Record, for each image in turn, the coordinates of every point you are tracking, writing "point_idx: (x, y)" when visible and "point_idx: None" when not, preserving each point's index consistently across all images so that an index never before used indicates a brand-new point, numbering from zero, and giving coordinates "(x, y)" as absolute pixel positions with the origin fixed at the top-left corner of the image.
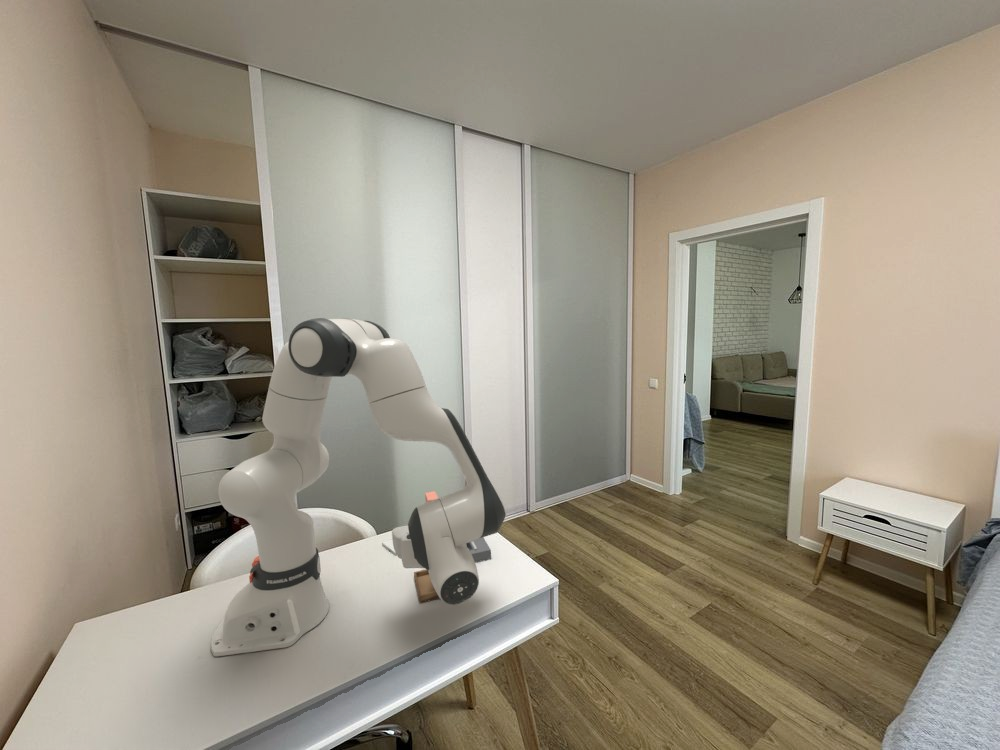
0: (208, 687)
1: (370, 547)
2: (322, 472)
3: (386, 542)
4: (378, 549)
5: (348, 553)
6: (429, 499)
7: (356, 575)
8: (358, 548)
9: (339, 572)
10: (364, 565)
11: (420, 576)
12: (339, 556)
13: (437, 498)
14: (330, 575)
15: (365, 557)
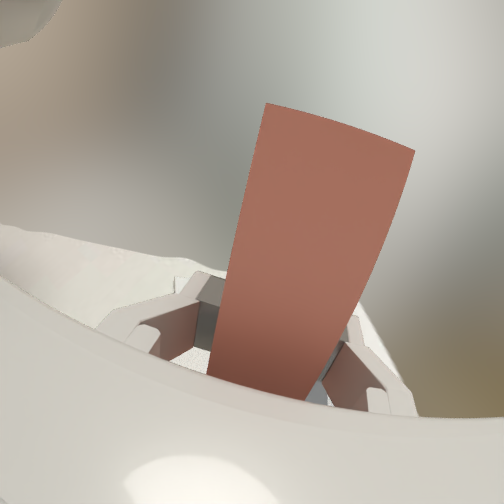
0: None
1: (153, 273)
2: (12, 8)
3: (181, 279)
4: (161, 285)
5: (115, 263)
6: (293, 112)
7: (78, 314)
8: (136, 263)
9: (67, 288)
10: (109, 302)
11: None
12: (100, 260)
13: (397, 145)
14: (54, 284)
15: (127, 287)
